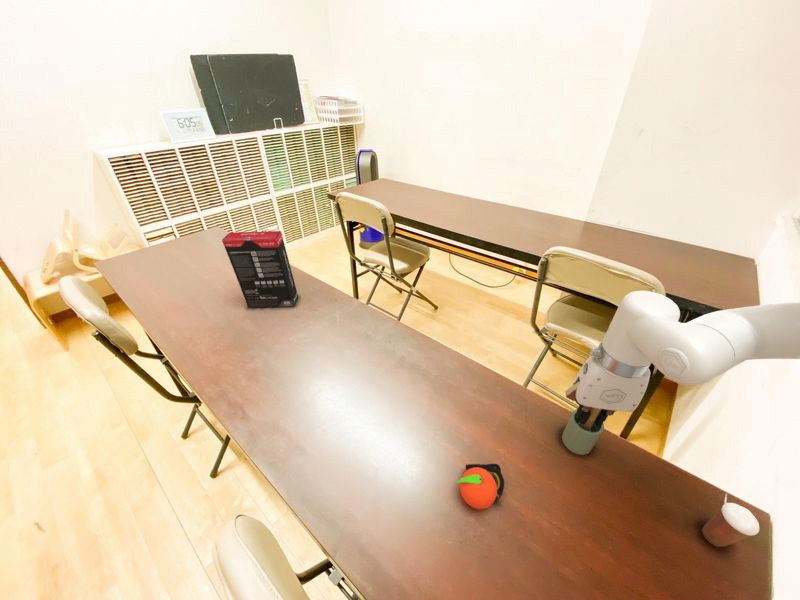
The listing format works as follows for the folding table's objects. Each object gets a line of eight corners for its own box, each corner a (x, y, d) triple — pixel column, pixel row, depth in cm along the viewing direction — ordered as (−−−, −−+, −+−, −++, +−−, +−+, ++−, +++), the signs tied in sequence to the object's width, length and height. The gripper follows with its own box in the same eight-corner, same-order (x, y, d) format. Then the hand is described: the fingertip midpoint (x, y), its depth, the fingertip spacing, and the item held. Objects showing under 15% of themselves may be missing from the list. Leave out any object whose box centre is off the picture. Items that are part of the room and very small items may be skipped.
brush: (590, 438, 70) (609, 405, 63) (580, 445, 69) (599, 411, 62) (578, 427, 72) (595, 394, 65) (568, 433, 71) (585, 400, 64)
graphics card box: (300, 296, 120) (281, 228, 104) (295, 307, 114) (275, 237, 98) (254, 298, 120) (228, 230, 104) (247, 310, 114) (219, 240, 98)
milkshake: (704, 513, 60) (735, 488, 54) (736, 546, 56) (774, 523, 50) (686, 522, 59) (716, 498, 53) (717, 556, 55) (754, 535, 49)
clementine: (454, 514, 61) (457, 498, 57) (451, 476, 66) (454, 459, 62) (497, 516, 60) (503, 500, 56) (490, 477, 66) (496, 460, 62)
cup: (597, 446, 70) (610, 426, 66) (578, 459, 68) (590, 439, 64) (574, 424, 75) (584, 404, 70) (555, 436, 73) (565, 415, 68)
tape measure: (497, 469, 67) (500, 460, 65) (505, 506, 62) (508, 497, 60) (465, 469, 68) (466, 460, 65) (469, 505, 62) (471, 497, 60)
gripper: (577, 367, 54) (550, 428, 65) (686, 381, 51) (638, 443, 62) (568, 337, 60) (545, 398, 71) (665, 348, 57) (625, 410, 68)
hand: (588, 419), depth 66 cm, fingers closed on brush, 2 cm apart
